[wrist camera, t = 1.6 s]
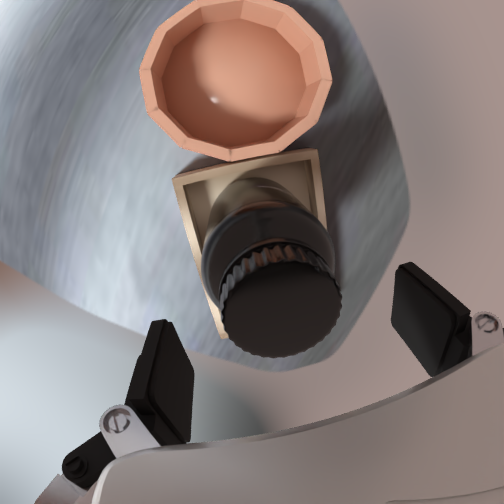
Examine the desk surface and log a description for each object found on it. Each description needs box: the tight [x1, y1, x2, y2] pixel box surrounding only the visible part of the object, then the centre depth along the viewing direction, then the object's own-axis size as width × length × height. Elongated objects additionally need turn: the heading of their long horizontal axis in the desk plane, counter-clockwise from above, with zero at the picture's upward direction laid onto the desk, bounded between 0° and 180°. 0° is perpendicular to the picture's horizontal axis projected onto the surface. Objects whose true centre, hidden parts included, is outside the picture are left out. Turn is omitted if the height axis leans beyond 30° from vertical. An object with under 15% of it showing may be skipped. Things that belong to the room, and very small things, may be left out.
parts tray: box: [172, 148, 327, 339], centre depth 21 cm, size 14×10×2 cm
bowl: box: [139, 0, 332, 162], centre depth 15 cm, size 11×11×4 cm
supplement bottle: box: [201, 177, 342, 358], centre depth 16 cm, size 7×7×12 cm
